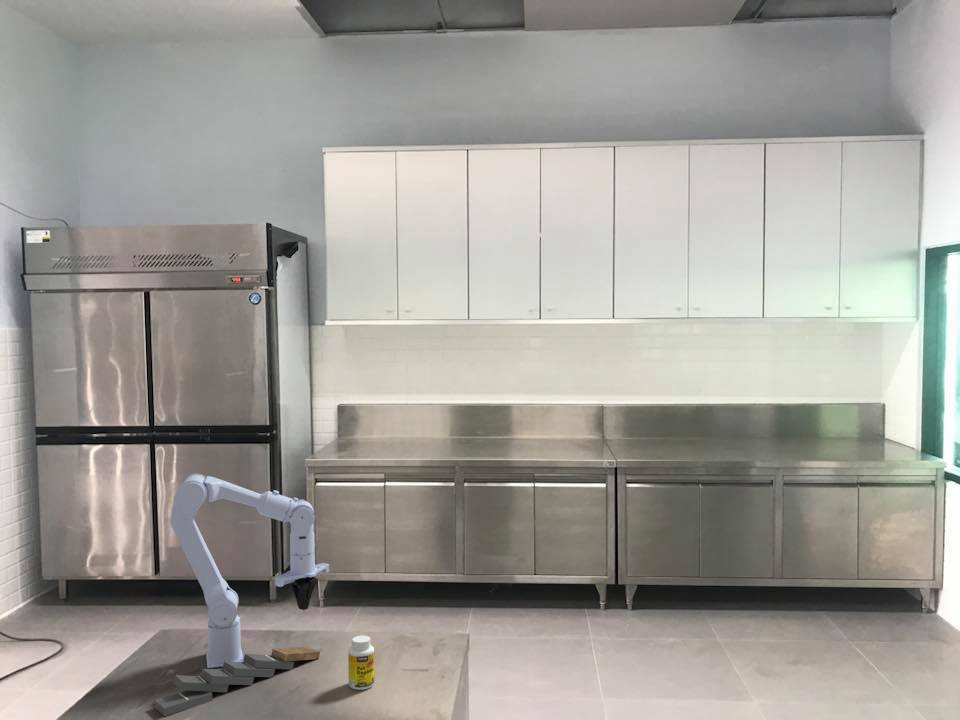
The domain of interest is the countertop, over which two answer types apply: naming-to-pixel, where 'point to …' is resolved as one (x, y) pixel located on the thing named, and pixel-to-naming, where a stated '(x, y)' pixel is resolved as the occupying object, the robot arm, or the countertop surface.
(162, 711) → the domino
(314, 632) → the countertop surface
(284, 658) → the walnut domino
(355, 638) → the supplement bottle
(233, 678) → the domino
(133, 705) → the countertop surface
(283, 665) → the domino
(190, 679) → the domino
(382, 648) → the countertop surface
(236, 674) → the domino
